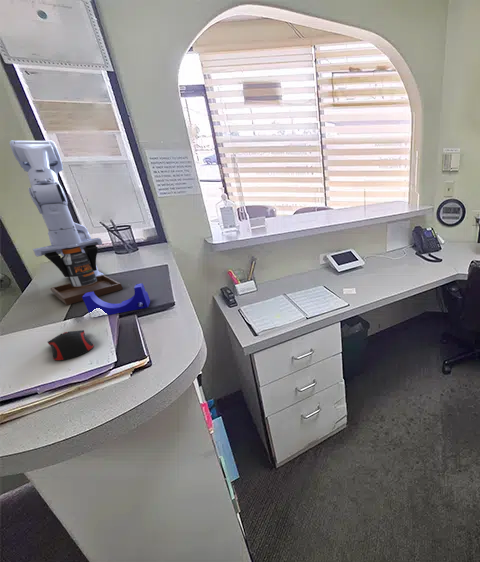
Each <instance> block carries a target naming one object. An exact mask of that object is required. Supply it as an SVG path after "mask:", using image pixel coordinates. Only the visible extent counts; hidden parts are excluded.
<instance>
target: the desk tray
mask: <svg viewBox="0 0 480 562" xmlns="http://www.w3.org/2000/svg"><path fill="white" fill-rule="evenodd" d="M96 278H97V281H96V282H95V283H93V284H90V285H86V286H80V287H74V286H72V285H71V283H70V282H69V283H65V284H61V285H56V286H53V287H52V286H51V287H50V290H51V293H52V294H53V296H55V297H56V298H57V299H59V300H60V302H62V303H63V304H65V306H69V305H72V304H76V303H79V302H84V300H83V298H82V297H83V295H84V294H85V293H87V292H93V291H94V293H95V295H96V296H97V297H101V296H104V295H108V294H112V293H114V292H119V291H122V290H124V288H123V286H122V283H121V282H119V281H117V280H115V279H113V278H111V277H109V276H107V275H106V274H104V275H101V276H97V277H96Z"/></svg>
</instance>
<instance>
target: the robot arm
mask: <svg viewBox="0 0 480 562" xmlns="http://www.w3.org/2000/svg"><path fill="white" fill-rule="evenodd" d="M8 143H9V146H10V147H9V148H10V150H11V151H12V153H13V156H14V158H15V160H16V161H17V162H18V164H19V166H20V167H21V168H22V169H23V171H24V172H27V177H28V181H29V184H30V187H28V192H29V196H30V198H31V200H32V202H33V203H34V205H35V207H36V208H37V211H38V212H39V214H40V215H41V216H42V219H43V221H44V223H45V226H46V228H47V230H48V231H47V235H48V240H49V242H50V245H46V246H42V247H36V248H32V251H33V253H34V255H35V256H36V257H42V256H44V257H45V258H46V259H47V260H49V261H50V262H51V263H52V264H54V266H56V268H58V270H59V271H60V272H61V274H62V275H63V277H64V278H67V279H69V278H68V277H69V275H68V273H67V271H66V269H65V267H64V265H63V262H62V259H61V258H62V257H63V256H64V254H63V251H62V249H65V248H73V247H77V246H78V247H80V248H81V251H82V253H85V254H87V255H88V257H89V260H90V262H91V265H92V268H93V270H94V273H95V276H96V277H97V276H101V275H105V274H104V273H102V272H101V271H100V270H99V268H98V266H97V256H98V252H99V247H98V246H102V245H103V242H102V238H100V237H96V238H92V236H91V234H90V232H89V229H88V228H87V227H86V226H85V225H83V224H80V223H78V222H74V220H73V217H72V214H71V211H70V209H69V206H68V205H69V204H68V203H69V202H68V198H67V196H66V193H65V191H64V189H63V186H62V185H61V183H60V181H59V177H58V176H59V173H60V172H62V171H64V168H63V167H64V165H63V162H62V158H61V155H60V153H59V150H58V147H57V144H56V143H55V142H54V141H53V140H51V139H50V140H14V139H11V140H10V141H9V142H8Z"/></svg>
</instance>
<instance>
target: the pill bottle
mask: <svg viewBox="0 0 480 562" xmlns="http://www.w3.org/2000/svg"><path fill="white" fill-rule="evenodd" d="M62 251H63V254H64V256H61V259H62V262H63V265H64V267H65V269H66V271H67V273H68V275H69V277H68V278H67V279H68V280H69V283H71V285H72V286H74V287H80V286H86V285H90V284H93V283H95V282H96V281H97V278H96V276H95V273H94V270H93V268H92V265H91V262H90V260H89V257H88V255H87V254H85V253H82V251H81V248H80V247H78V246H77V247H73V248H65V249H62Z"/></svg>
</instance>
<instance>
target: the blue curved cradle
mask: <svg viewBox="0 0 480 562" xmlns="http://www.w3.org/2000/svg"><path fill="white" fill-rule="evenodd" d="M133 289H134V290H133V291H134V294H133V295H132V297H130V298H128V299H126V300H122V301H121V302H120V303H112V302H107V301H104V300H103V299H101V298H99V296H96V295H95V293H94V291H93V292H87V293H85V294H84V295H83V297H82V298H83V302H84V305H85V307H86V310H87V312H88V314H89V313H90V312H92V311H93V310H94V309H96V308H100V309H102V310H103V311H104V312H105V313H107V314H108V315H107V316H111V315H116V314H122V313H126V312H133V311H137V310H142V309H147V308H149V306H150V303H151V300H150V296H149V293H148V291H146V289H145V285H144V283H143V282H142V283H136V284H135V285H134V287H133Z"/></svg>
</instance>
